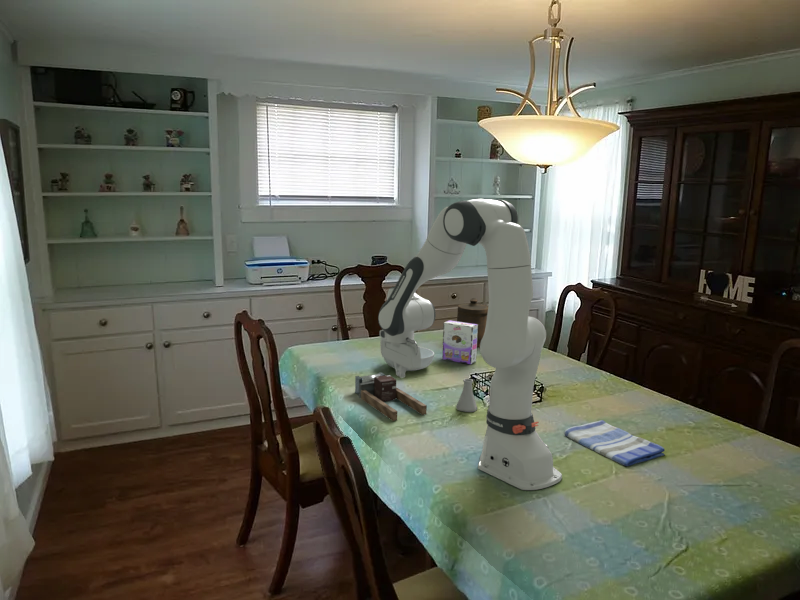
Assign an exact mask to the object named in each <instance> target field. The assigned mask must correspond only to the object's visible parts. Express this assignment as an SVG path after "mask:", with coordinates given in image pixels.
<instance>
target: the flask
mask: <svg viewBox="0 0 800 600" xmlns="http://www.w3.org/2000/svg"><path fill="white" fill-rule="evenodd" d="M462 381H463V387H462V391H461V393H460V397H459V398H458V400H457V403H456V406H455V408H456V409H457V411H460V412H464V413H472V412H474V413H475V412H476V411H477V410H478V405H477V402H476V399H475V396H474V392H473V383H474V380H473V379H472V378H463V380H462Z"/></svg>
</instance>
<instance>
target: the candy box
mask: <svg viewBox="0 0 800 600" xmlns="http://www.w3.org/2000/svg"><path fill="white" fill-rule="evenodd" d="M442 324H443V328H442V329H443V332H442V360H445V361H449V362H455V363H461V364H466V365H472V364H474V363H476V362H477V353H478V352H477V351H478V350H477V349H478V347H477V333H478V325H477V324H470V323H464V322H457V320H449V319H448V320H447V321H445V322H443V323H442Z"/></svg>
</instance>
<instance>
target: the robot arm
mask: <svg viewBox="0 0 800 600" xmlns="http://www.w3.org/2000/svg"><path fill="white" fill-rule="evenodd" d="M518 216H519V215H518V212H517V209H516V208H515V206H514V205H513V204H512V203H510V202H508V201H507V200H503V199H499V198H498V199H497V198H496V199H484V198H476V199H469V200H465V199H464V200H459V201H456V202H453V203H451V204H450V205H448V206H445V207H444V208H442V209H441V210H440V212H439V213H438V215H437V217H436V218H435V220H434V222H433V224H432V226H431V228H430V230H429V232H428V234H427V238H426V239H425V242H424V244H423V245H422V247H421V248H420V249H419V251H418V253H416V254H415V256H414V257H412V259H411V260H410V261H408V263H407V264H406V266H405V268H404V270H403V271H402V273H401V274H400V276H399V278H398V280H397V282H396V284H395V286H391V287H390V288H389V289H388V291H387V295H386V296H387V297H386V301H385V302H384V303H383V304H382V305H381V307H380V309H379V311H378V315H377V321H378V325H379V327H380V330H379V337H380V355H381V357H382V358H383V359H384V358H386V359H388V360H390V361H393V362H394V367H395V368H394V370H395V375H396V376H397V377H398V378H401V379H402V378H405V377H406V373H407V371H406V369H407V368H408V369H410V370H415V371H418V370H417V369H420V367H421V354H420V348H419V347H420V346H419V345H418V343H417V340H415V332H417V331H421V330H426V329H429V328H431V327H432V326H433V325H434V323H435V320H436V318H437V316H436V314H437V313H436V312H437V311H436V308H435V306H434V304H433V302H432V301H431V300H430V299H428V298H424V297H422V296H420V295H419V294H418V293H416V291H417V290H418V289H419V288H420V286H422V285H423V284H424V283H426V282H428V281H431V280H432V279H434V278H437V277H439V276H443V275H445V274H447V273H450V272H451V271H452V270H453V269H455V268H456V266H457V265H458V264H459V262H460V260H461V259H462V256H463V254H464V252H465V249H466V246H467V245H470V246H472V247H475V246H476V245H478V244H479V245H481V246H482V247H483V249H484V251H485V255H486V270H487V271H486V273H487V283H488V305H487V306H488V314H487V321H486V328H485V333H484V336H483V338H482V340H481V343H480V347H479V352H480V355H481V358H482V359H483V360H484V362H485V363H486V364H487V365H488V366H490V367H491V368H493V369H494V368H495V371H494V373H493V376H491V380H490V386H489V387H490V388H489V404H488V408H487V411H486V416H485V417H486V425H487V427H486V431H485V433H484V437H483V442H482V450H481V454H480V456H479V462H478V464H477V468H478V470H480V471H482V472H484V473H486V474H488V475H491V476H492V477H494V478H497V479H499V480H501V481H503V482H504V483H507V484H509V485H511V486H512V487H515V488H516V489H519V490H522V491H535V490H536V491H537V490H541V489H545V488H548V487H552V486H553V485H556V484H558V483H560V482H561V481H562V479H563V474H562V473H561V472H560V471H559V470H558V469H556V468H555V467H554V458H553V453H552V452H551V450H550V448H549V445H548V444H546V443H545V442H544V440H542V438H541V437H540V435H539V433H538V432H537V431H536V427H538V426H539V425H538V424H539V421H535V419H534V415H533V411H532V410H533V408H532V407H533V396H534V385H535V380H536V377H537V372H538V367H539V364H540V360H541V353H542V351H543V347H544V344H545V342H546V340H547V339H546V338H547V330H546V327H545V326H544V324H543V323H542V322H541V321H540V320H539V319H538V318H536V317H534V316H529V315H530V314H529V313H530V308H531V304H532V301H533V298H534V297H533V296H534V290H533V289H534V288H533V274H532V261H531V253H530V246H529V242H528V238H527V237H528V236H527V234H526V231H525V229H524V228H523V226H521V225H520V224H518V221H519V220H518V218H519V217H518ZM420 370H421V369H420Z"/></svg>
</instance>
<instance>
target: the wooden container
mask: <svg viewBox="0 0 800 600" xmlns="http://www.w3.org/2000/svg"><path fill="white" fill-rule="evenodd" d="M469 301H470V303H460V304H458V306H457V317H456V318H457V319H456V321H457V322H464V323H470V324H477V325H478V333H477V348H480V343H481V340H482V338H483V336H484V333H485V328H486V321H487V314H488V306H489V305H486V304H481V303H477V302H478V299H477V298H476V297H473V298H470V299H469Z"/></svg>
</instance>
